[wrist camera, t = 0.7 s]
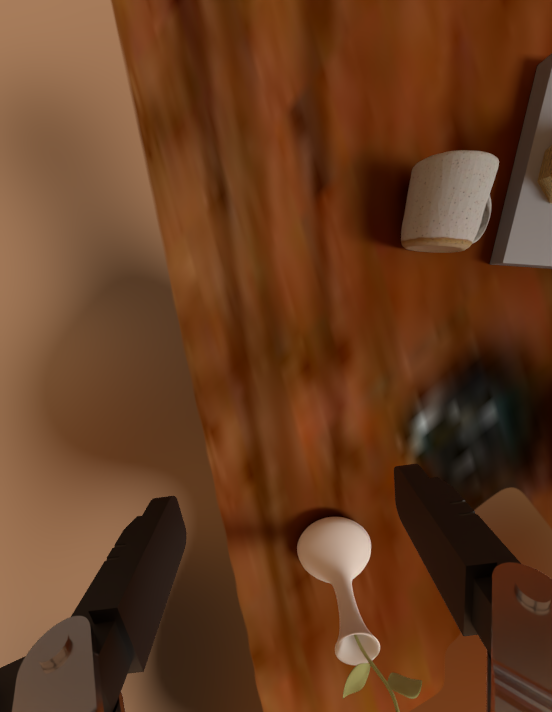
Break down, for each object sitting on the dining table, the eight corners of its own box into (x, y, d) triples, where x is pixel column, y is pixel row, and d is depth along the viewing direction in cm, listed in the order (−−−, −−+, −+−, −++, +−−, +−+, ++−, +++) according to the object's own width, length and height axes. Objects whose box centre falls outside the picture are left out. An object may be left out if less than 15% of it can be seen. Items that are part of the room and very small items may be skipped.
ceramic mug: (387, 251, 33) (421, 241, 26) (399, 176, 31) (440, 141, 24) (471, 258, 34) (528, 250, 26) (488, 184, 32) (556, 152, 24)
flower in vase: (284, 553, 44) (298, 876, 20) (315, 499, 42) (373, 791, 17) (355, 578, 46) (448, 907, 21) (389, 526, 43) (538, 833, 19)
